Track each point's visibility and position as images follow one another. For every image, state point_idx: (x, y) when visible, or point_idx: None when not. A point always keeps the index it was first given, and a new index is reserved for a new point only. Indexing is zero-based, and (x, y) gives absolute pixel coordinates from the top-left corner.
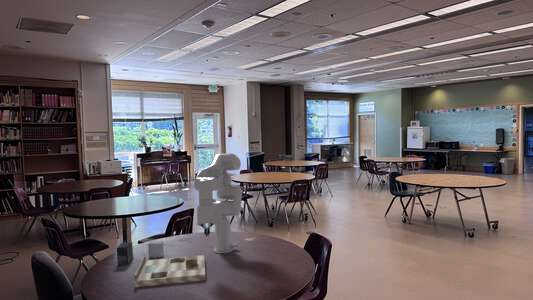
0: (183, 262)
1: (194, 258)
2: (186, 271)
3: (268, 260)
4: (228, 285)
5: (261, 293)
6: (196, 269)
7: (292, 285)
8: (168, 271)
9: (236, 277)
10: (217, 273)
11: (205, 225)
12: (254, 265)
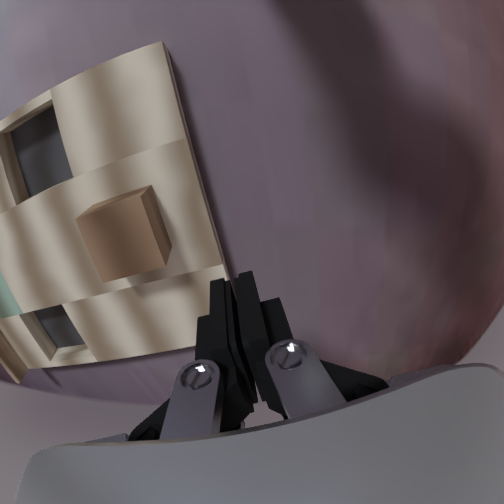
0: (70, 183)
1: (143, 252)
2: (142, 308)
3: (483, 110)
4: (336, 349)
5: (411, 371)
6: (182, 285)
7: (480, 321)
8: (64, 305)
9: (367, 288)
10: (285, 249)
11: (220, 406)
12: (441, 158)
